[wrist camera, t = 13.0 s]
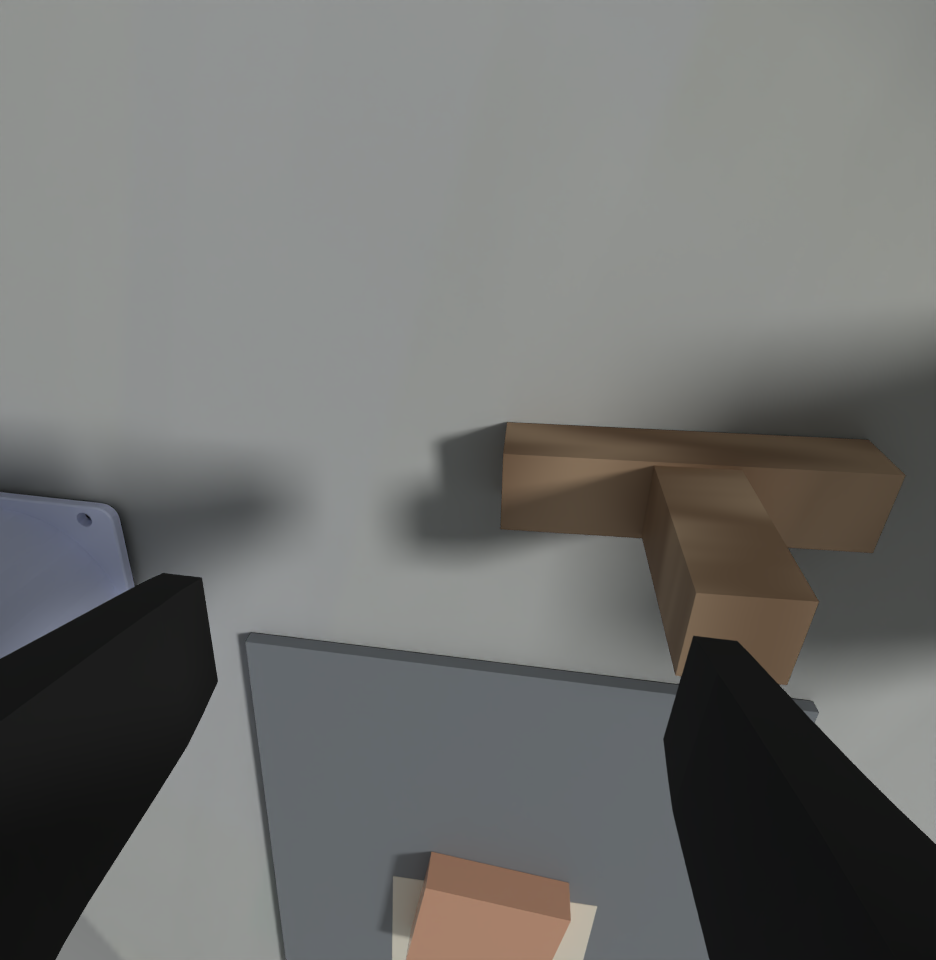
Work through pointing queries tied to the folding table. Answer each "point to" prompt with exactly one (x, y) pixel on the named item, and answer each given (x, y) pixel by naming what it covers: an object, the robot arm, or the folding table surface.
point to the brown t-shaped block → (707, 518)
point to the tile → (487, 913)
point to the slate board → (465, 795)
